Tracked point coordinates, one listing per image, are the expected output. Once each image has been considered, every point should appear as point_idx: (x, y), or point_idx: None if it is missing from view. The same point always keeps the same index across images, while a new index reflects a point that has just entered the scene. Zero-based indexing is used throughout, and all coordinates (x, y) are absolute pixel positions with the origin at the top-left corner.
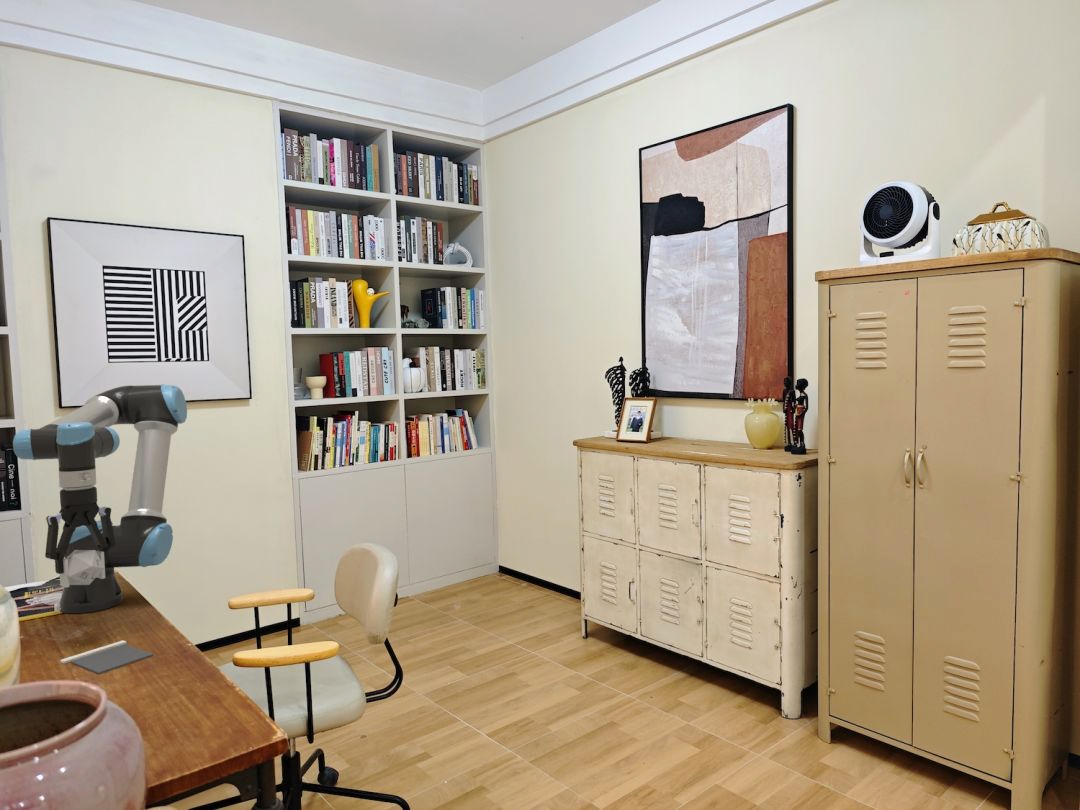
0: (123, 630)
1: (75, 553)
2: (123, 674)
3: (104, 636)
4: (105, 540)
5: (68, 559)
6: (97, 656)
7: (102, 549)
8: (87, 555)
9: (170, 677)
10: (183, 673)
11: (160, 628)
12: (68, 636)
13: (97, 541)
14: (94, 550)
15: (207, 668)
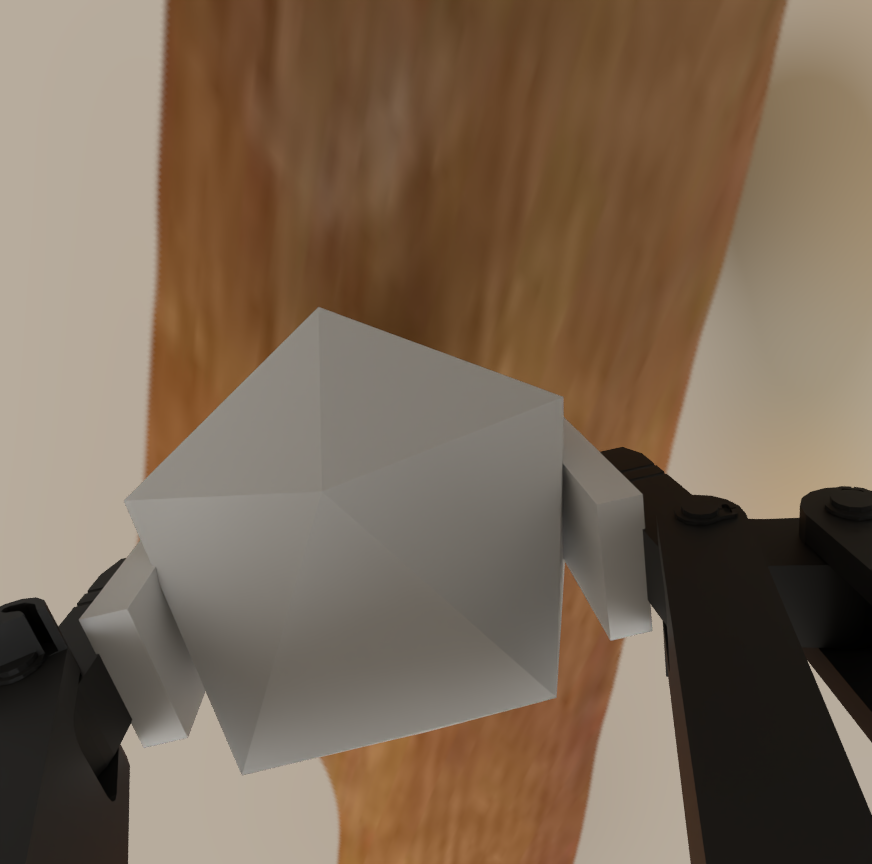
0: (552, 292)
1: (284, 730)
2: (392, 746)
3: (464, 314)
4: (850, 571)
5: (204, 681)
6: None
7: (663, 621)
8: (425, 730)
9: (480, 834)
10: (515, 829)
11: (664, 393)
12: (338, 167)
13: (677, 720)
14: (543, 698)
15: (573, 834)
